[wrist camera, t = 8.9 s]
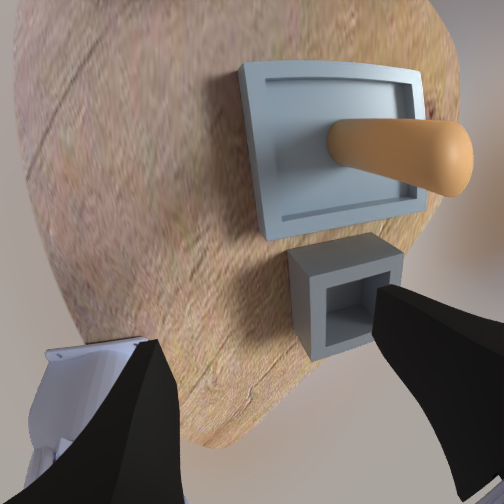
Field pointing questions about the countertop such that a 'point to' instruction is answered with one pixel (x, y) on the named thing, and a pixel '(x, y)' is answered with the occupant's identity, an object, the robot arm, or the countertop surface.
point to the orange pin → (406, 151)
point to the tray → (321, 142)
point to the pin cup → (339, 291)
